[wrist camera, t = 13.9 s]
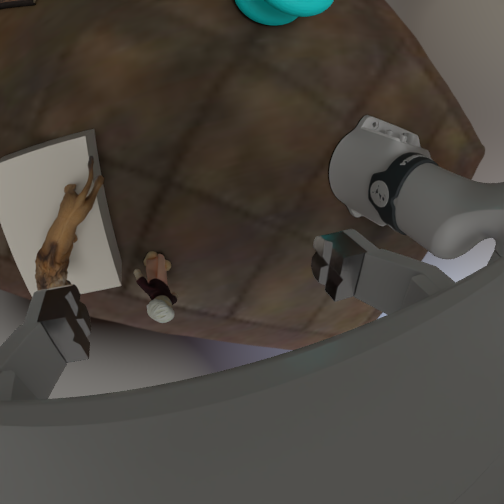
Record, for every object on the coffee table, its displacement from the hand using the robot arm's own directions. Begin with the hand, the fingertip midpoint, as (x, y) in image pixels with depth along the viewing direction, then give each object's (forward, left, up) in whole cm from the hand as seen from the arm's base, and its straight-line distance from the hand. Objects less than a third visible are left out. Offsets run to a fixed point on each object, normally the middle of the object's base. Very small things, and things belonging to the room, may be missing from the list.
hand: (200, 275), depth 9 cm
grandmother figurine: (+3, +19, -31) cm, 36 cm away
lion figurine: (+11, +7, -25) cm, 28 cm away
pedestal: (+15, +8, -31) cm, 35 cm away
